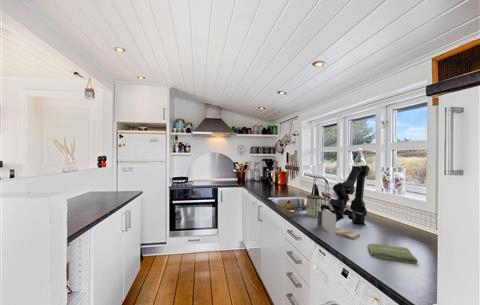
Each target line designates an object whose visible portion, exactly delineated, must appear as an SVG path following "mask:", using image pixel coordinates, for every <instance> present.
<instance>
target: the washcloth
mask: <svg viewBox="0 0 480 305" xmlns="http://www.w3.org/2000/svg"><path fill="white" fill-rule="evenodd" d="M367 246H368V247H367V248H368V250H369V252H370V254H371V255H372V256H374V258H376V259H382V260H383V259H384V260H389V261H395V262H399V263H401V262H402V263H407V264H418V263H419V262H418V259H417V258H416V256H414V254H412V253H411V250H410V249H409V248H407V247H405V246H394V245H387V244H378V243H369V244H367Z"/></svg>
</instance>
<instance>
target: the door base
mask: <svg viewBox="0 0 480 305" xmlns="http://www.w3.org/2000/svg"><path fill="white" fill-rule="evenodd" d="M321 213H322V209H321V210H320V211H318V217H317V220H316V221H317V223H316V224H317V225H315V226H314V229H317V230H321V231H324V232H327V233H329V232H328V231H327V230H326V229H325V228H324V227H323V226H322V225H321ZM336 235H337V236H340V237H343V238H344V237H345V238H347V239H351V240H356V239H357V238H359V237H360V236H361V234H360V233H357V232H354V231H350V230H348V229H347V230H346V229H343V228H339V227H336Z"/></svg>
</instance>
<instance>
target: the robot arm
mask: <svg viewBox="0 0 480 305" xmlns="http://www.w3.org/2000/svg"><path fill="white" fill-rule="evenodd" d="M370 171H371V170H370V166H368V164H356V165H352V166H351V170H350V172H349V175H348V176H347V179H346V180H345V181H343V182H338V183H336V184H334V185H333V187H332V190H333V191H334V193H335V196H336V197H337V198H330V202H329V205H330V206H331V207H330V206H329V205H327V204H321V207H320V208H321V211H323V208H326V209H328V210H329V211H330V212H332V213H333V214H335V215H336V223H338V222H339V221H341V220H344V219H345V216H347V218H348V219H349V220H351V222H352V223H353V224H355V225H366V223H365V219H366V218H365V217H366V216H367V214H368V211H367V208H366V203H365V201H364V199H363V198H364V190H365V181H366V179H367V176H368V175H369V173H370ZM355 183H356V184H355ZM353 194H354V199H352V200H350V196H349V195H353ZM349 201H351V202H350V205H349V207H350V209H347V204H348V202H349Z"/></svg>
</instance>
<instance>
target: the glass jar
mask: <svg viewBox="0 0 480 305" xmlns="http://www.w3.org/2000/svg"><path fill="white" fill-rule="evenodd" d="M321 202H322V196H321V195H316V194H308V195H306V213H305V214H306V216H308V217H313V218H318V211H320V210H321V211H322V209H321V208H320V207H321V205H322V203H321Z"/></svg>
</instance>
